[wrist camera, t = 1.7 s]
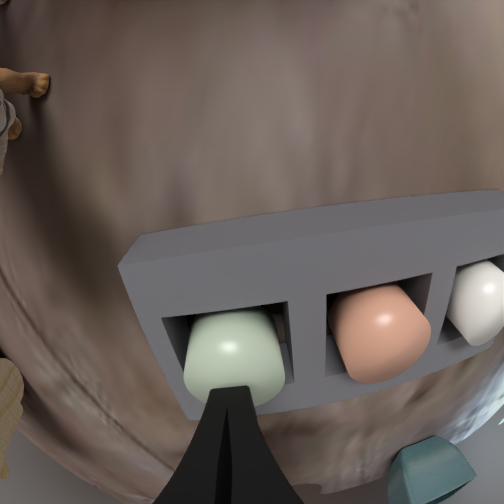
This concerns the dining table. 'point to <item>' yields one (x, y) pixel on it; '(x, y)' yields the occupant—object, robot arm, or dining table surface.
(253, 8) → the dining table surface
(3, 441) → the toy train
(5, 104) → the lion figurine
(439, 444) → the flower pot
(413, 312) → the terracotta button
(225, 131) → the dining table surface
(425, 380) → the dining table surface
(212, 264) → the button panel
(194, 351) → the sage button
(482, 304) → the cream button
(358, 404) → the dining table surface
